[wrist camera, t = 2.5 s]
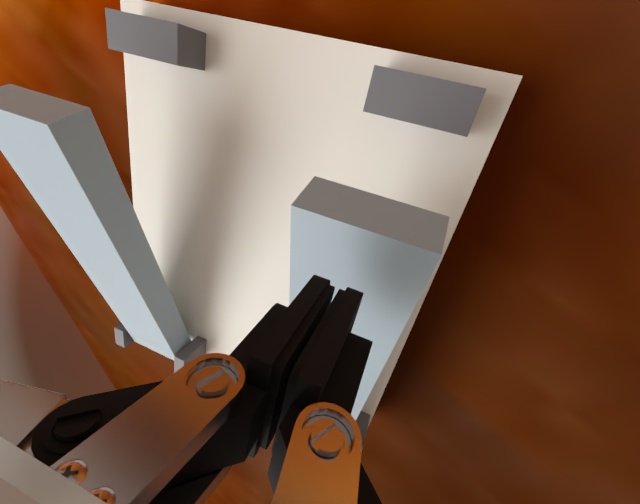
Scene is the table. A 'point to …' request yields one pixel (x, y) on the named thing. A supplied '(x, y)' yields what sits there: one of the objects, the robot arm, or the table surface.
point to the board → (281, 152)
